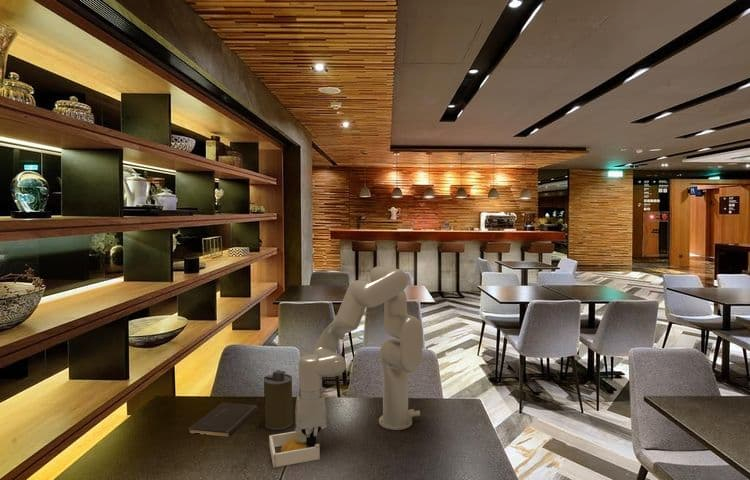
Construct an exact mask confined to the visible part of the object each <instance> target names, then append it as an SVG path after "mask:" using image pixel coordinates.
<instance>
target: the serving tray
mask: <svg viewBox="0 0 750 480" xmlns="http://www.w3.org/2000/svg"><path fill="white" fill-rule="evenodd" d="M309 432H310V434H311V433H312V428H309ZM291 439H297V440H299V441H301V442H302V443H306V435H304V434H303V433H302V432H301V433H299V432H295V430H294V431H290V432H289V431H288V432H284V433H277V434H271V435H270V434H269V440H268V441H269V450H270V451H269V452H270V456H271V462H272V468H279V467H284V466H290V465H294V464H301V463H306V462H312V461H313V462H314V461H317V460H320V459H321V456H320V454H321V453H320V450H321V449H320V447H321V445H320V443H316V444H314V447H310V448H309V447H307V448H304V449H298V450H292V451H286V452H281V451H280V452H276V449H275V448H279V447H282V446H283V444H284V443H286V442H287V441H289V440H291Z"/></svg>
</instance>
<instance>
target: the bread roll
mask: <svg viewBox="0 0 750 480" xmlns="http://www.w3.org/2000/svg"><path fill="white" fill-rule="evenodd" d="M280 447H281V448H280V453H281V452H286V451H292V450H298V449H304V448H308V446H307V443H305V442H303V443H302V442H301V441H299V440H297V439H291V440H289V441H287V442H286V443H284V444H283V446H280Z"/></svg>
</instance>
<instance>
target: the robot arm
mask: <svg viewBox="0 0 750 480" xmlns="http://www.w3.org/2000/svg"><path fill="white" fill-rule="evenodd" d="M408 280H409V279H408V275H407V274H406V273H405V271H403V270H402V269H399V268H394V267H388V266H382V265H380V266H375V267H373V268H372V269H371V270H370V273H369V281H367V280H361V279H356V280H353V281H352V282H351V283H350V284H348V287H347V290H346V292H345V295H344V297H343V300H342V302H341V303H340V306H339V309H338V311H337V314H336V316H335V318H334V319H333V320H332V321H331V323H329V324H328V326H327V327H326V328H325V329H324V330H323V331H322V333H321V334H320V336H319V337H318V340H317V342H316V345H315V347H314V350H313V352H312V354H306V355H304V354H303V356H301V357H300V358H299V360H298V396H297V397H296V399H295V400H296V401H295V408H294V410H295V411H294V423H295V427H294V431H295V432H299V433H301V432H302V433H303V434H304V435H306V442H305V444H306V445H307V447H308V448H310V447H315V444H317V436H318V434H319V432H320V431H321V430H324V429H326V428H327V427H328V424H327V419H328V417H327V407H326V400H325V395H324V394H323V393H325V392H326V393H327V387H323V378H328V377H329V378H330V377H331V378H332V377H338V376H340V375H342V374H343V373H344V372H345V371H346V368H347V361H346V359H345V358H344V356H342V355H341V354H339V353H337V352H336V351H335V348H336V346H337V344H338V342H339V340H340V339H341V338H342V337H343V336H344V335H346V334H348V333H351V332H353V331H356V330H357V329H358V328H359V326H360V323H361V321H362V318H363V316H364V313H365V311H366V308H376V307H378V306H380V305H382V304H384V307H383V311H384V312H383V319H384V320H383V322H384V323H383V327H384V331H385V333H386V334H387V335H389V336H390V337H393V338H390V339H387V340H385V341H384V342H382V345H381V347H380V352H379V355H380V362H381V369H382V414H381V416H380V417H379V418H378V424H379V425H380V427H382V428H384V429H386V430H390V431H401V430H405V429H409V428H410V427H411V426H412V425H413V417H420V416H421V412H420V410H415V409H414V408H411V409H409V376H408V375H409V373H414V372H416V371H417V370H419V368H420V367H421V364H422V361H423V342H424V341H423V339H424V338H423V336H424V335H423V333H424V332H423V326H422V323H421V321H420V319H418V318H417V317H416V316H414V315H411V314H409V313H408V303H407V301H408V299H407V293H406V291H405V290H406V288H407V286H408V283H409V281H408ZM309 428H312V433H311V434H310V432H309Z"/></svg>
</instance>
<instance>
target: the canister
mask: <svg viewBox="0 0 750 480" xmlns="http://www.w3.org/2000/svg"><path fill="white" fill-rule="evenodd" d="M263 391H264V392H263V396H264V397H263V399H264V401H263V402H264V406H265V407H264V408H265V409H264V411H265V413H264V414H265V416H264V417H265V420H264V421H265V423H264V426H265V428H267V429H268V430H272V431H279V430H284V429H288V428H290V427H291V426H292V425H293V423H294V420H293V419H294V418H293V376H292V375H290V374H287V373H286V371H283V370H280V369H277V370H275V371H274V372H272V374H271V375H269V374H268V375H265V376H263Z"/></svg>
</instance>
